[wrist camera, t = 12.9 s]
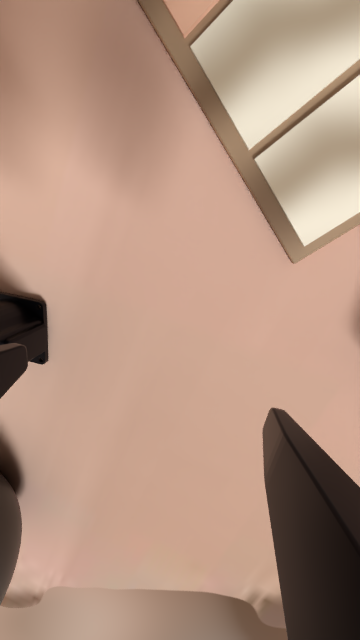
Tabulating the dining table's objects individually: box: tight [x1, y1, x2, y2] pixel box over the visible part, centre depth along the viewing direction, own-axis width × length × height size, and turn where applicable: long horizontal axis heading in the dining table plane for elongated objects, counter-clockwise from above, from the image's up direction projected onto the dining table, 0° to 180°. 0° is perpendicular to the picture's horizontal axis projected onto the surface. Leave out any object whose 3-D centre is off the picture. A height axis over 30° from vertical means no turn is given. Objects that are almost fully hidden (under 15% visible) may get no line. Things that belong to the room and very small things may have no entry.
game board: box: [138, 0, 360, 264], centre depth 13 cm, size 22×11×1 cm, turn 36°
